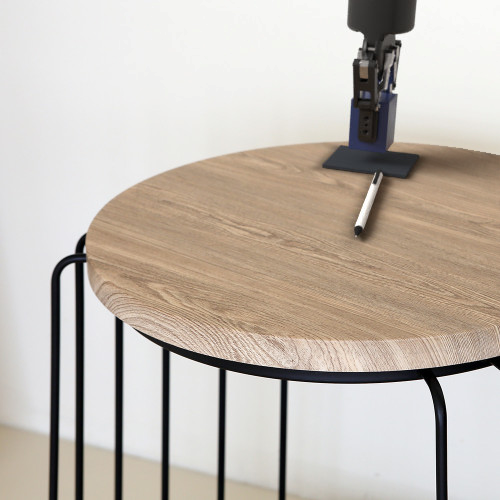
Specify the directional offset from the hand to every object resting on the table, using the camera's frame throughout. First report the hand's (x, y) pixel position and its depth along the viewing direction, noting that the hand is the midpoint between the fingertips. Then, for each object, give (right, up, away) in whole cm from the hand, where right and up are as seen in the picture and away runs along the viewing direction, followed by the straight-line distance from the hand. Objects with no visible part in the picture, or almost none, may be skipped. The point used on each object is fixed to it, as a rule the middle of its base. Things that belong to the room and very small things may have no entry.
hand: (372, 134), depth 95 cm
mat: (0, -3, +1) cm, 4 cm away
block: (0, -1, +1) cm, 1 cm away
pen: (-2, -9, -11) cm, 14 cm away
